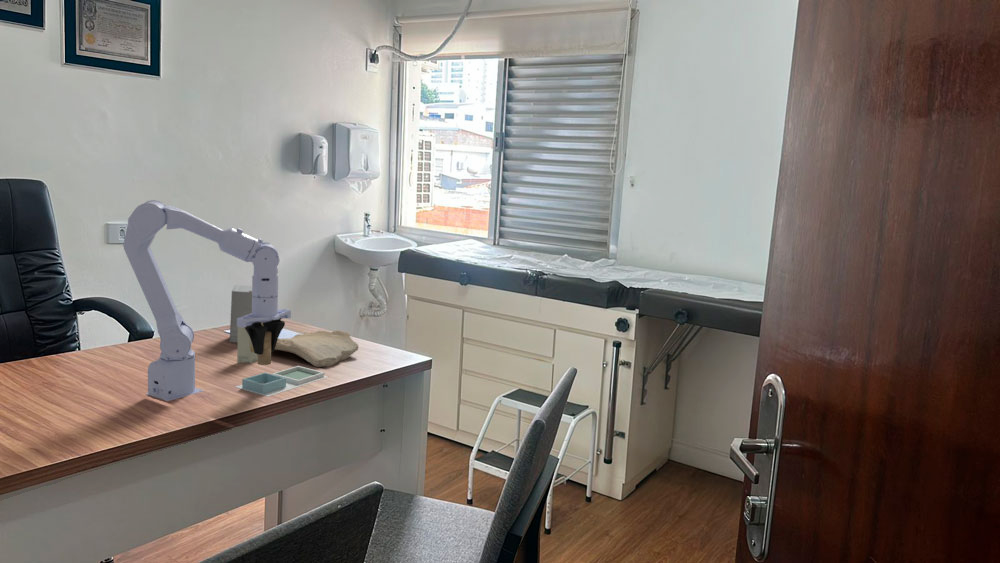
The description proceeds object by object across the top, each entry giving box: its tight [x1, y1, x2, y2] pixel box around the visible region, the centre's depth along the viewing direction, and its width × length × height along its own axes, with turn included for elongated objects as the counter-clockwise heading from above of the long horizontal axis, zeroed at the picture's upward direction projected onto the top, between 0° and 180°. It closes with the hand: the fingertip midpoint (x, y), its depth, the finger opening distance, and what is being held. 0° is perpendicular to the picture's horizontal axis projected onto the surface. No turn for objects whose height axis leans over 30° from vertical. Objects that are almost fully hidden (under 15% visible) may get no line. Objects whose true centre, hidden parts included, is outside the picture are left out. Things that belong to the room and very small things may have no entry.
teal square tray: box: [241, 372, 286, 394], centre depth 169 cm, size 7×7×2 cm
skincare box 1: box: [229, 284, 252, 344], centre depth 211 cm, size 8×7×16 cm
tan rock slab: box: [274, 330, 359, 368], centre depth 200 cm, size 24×8×20 cm
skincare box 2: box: [236, 323, 263, 364], centre depth 190 cm, size 6×4×12 cm
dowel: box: [257, 331, 272, 366], centre depth 167 cm, size 3×3×8 cm
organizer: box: [235, 365, 329, 398], centre depth 174 cm, size 20×11×2 cm, turn 151°
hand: (264, 352), depth 167 cm, fingers closed on dowel, 3 cm apart
